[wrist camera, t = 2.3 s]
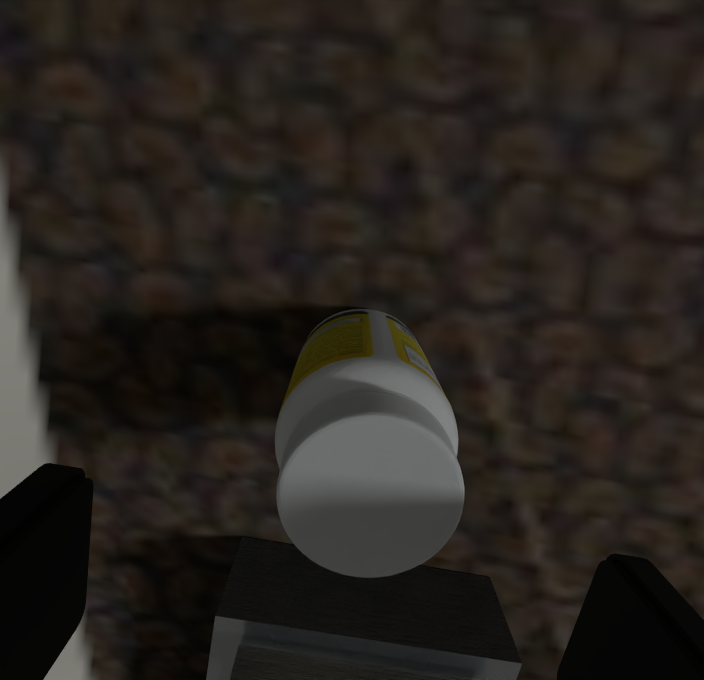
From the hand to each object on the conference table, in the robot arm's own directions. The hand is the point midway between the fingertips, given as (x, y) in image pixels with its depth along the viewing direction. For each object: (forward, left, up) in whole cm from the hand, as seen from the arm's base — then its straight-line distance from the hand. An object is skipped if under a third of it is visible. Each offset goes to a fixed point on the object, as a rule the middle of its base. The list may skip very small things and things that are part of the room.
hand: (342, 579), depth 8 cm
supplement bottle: (-1, 0, -10) cm, 10 cm away
